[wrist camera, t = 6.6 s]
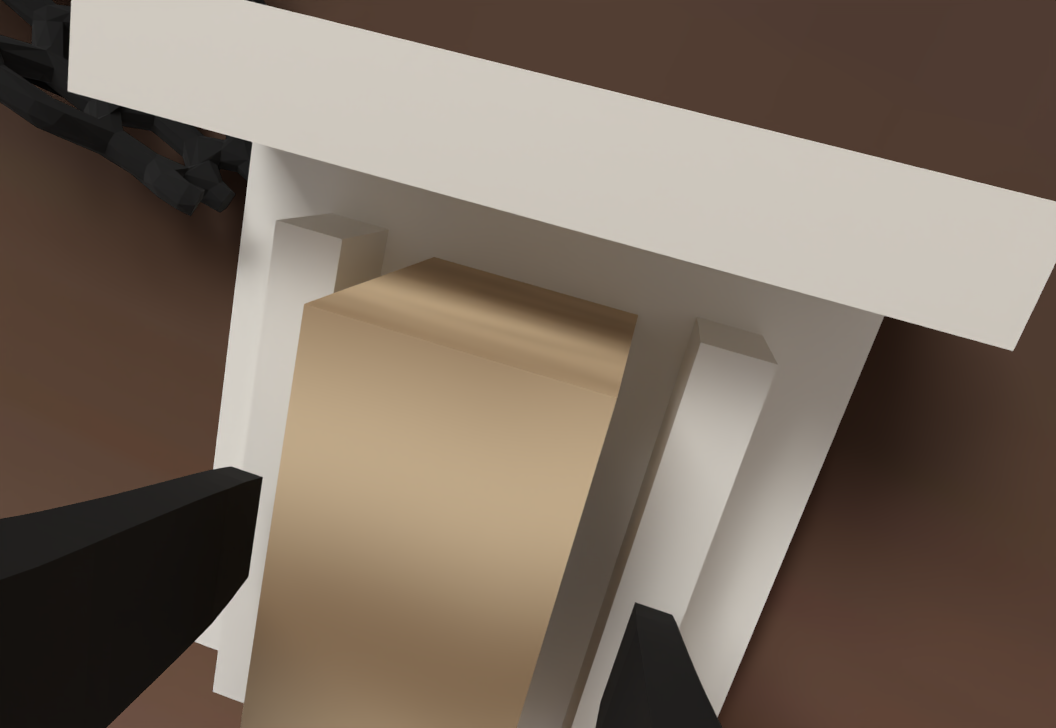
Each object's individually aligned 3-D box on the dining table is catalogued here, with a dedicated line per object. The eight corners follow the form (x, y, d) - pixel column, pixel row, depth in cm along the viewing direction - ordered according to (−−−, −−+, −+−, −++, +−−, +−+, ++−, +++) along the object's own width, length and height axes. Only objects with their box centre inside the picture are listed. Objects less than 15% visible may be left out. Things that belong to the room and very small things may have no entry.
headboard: (674, 790, 17) (674, 1053, 12) (213, 620, 18) (38, 791, 13) (918, 192, 12) (1081, 208, 7) (288, 33, 14) (73, -43, 9)
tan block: (512, 732, 16) (443, 967, 11) (348, 672, 16) (217, 874, 12) (638, 314, 13) (617, 398, 8) (433, 256, 13) (303, 304, 9)
